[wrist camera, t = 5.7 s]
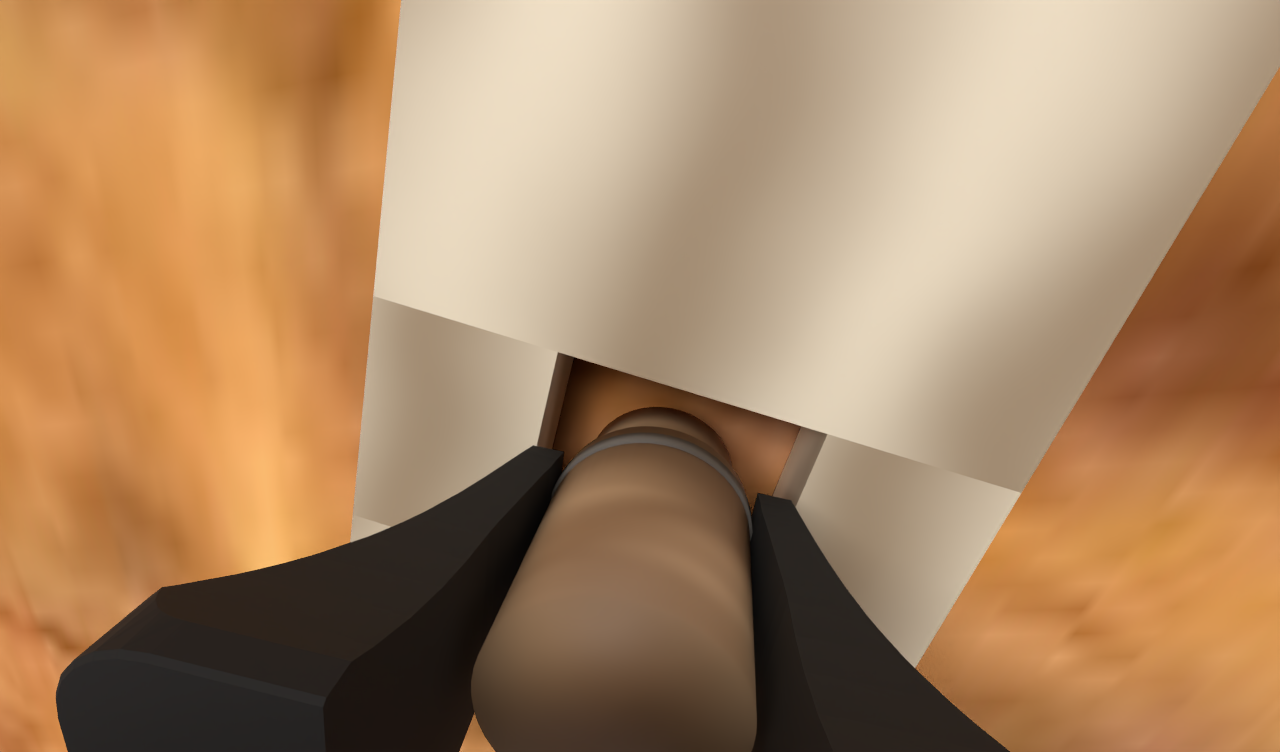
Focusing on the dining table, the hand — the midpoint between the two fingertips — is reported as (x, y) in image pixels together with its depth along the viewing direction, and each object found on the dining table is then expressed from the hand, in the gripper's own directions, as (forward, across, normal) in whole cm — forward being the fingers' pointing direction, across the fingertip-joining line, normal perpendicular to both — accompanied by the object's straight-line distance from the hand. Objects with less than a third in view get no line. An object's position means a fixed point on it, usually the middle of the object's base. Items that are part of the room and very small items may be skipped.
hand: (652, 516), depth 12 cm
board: (+2, 0, -4) cm, 4 cm away
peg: (+2, 0, 0) cm, 2 cm away
